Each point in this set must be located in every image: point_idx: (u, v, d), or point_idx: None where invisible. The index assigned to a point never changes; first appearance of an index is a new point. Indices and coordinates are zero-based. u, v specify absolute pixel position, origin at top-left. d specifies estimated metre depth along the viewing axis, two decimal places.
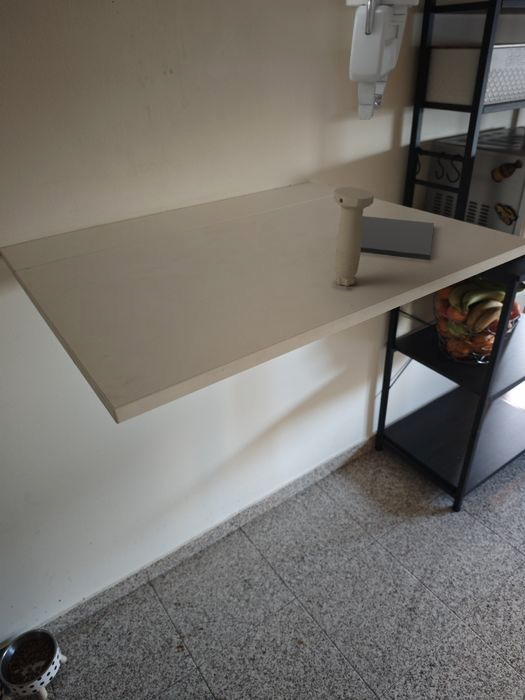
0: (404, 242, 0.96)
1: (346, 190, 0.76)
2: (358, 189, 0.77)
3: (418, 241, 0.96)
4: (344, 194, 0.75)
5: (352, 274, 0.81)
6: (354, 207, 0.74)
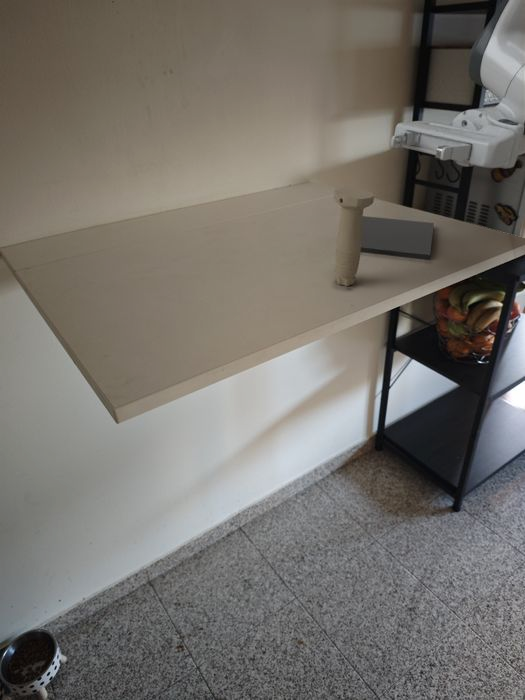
0: (404, 242, 0.96)
1: (346, 190, 0.76)
2: (358, 189, 0.77)
3: (418, 241, 0.96)
4: (344, 194, 0.74)
5: (352, 274, 0.81)
6: (354, 207, 0.74)
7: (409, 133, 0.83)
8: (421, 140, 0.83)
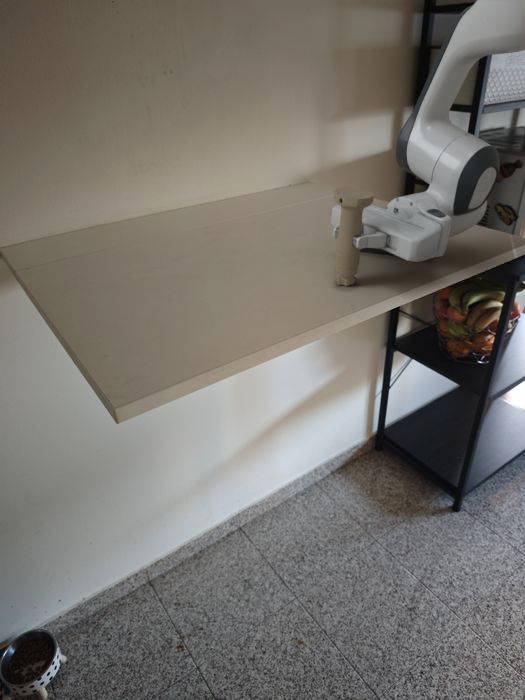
0: None
1: (345, 190, 0.76)
2: (358, 189, 0.77)
3: None
4: (344, 194, 0.75)
5: (352, 274, 0.81)
6: (354, 207, 0.74)
7: None
8: None
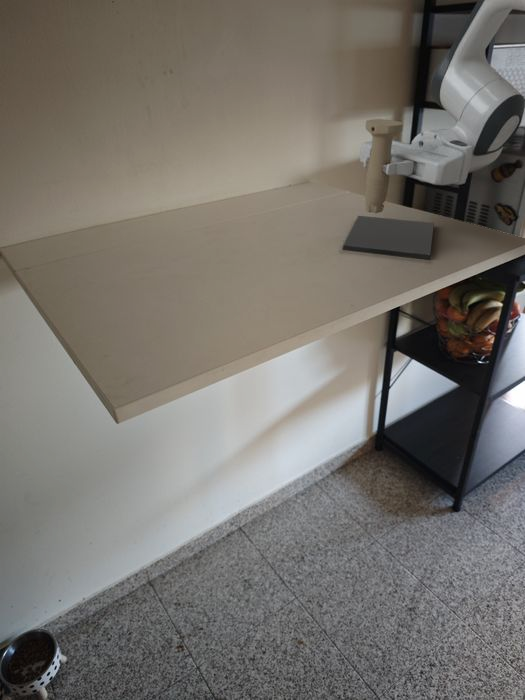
0: (404, 242, 0.96)
1: (377, 121, 0.84)
2: (388, 120, 0.84)
3: (418, 241, 0.96)
4: (376, 123, 0.82)
5: (381, 201, 0.89)
6: (385, 134, 0.82)
7: None
8: None
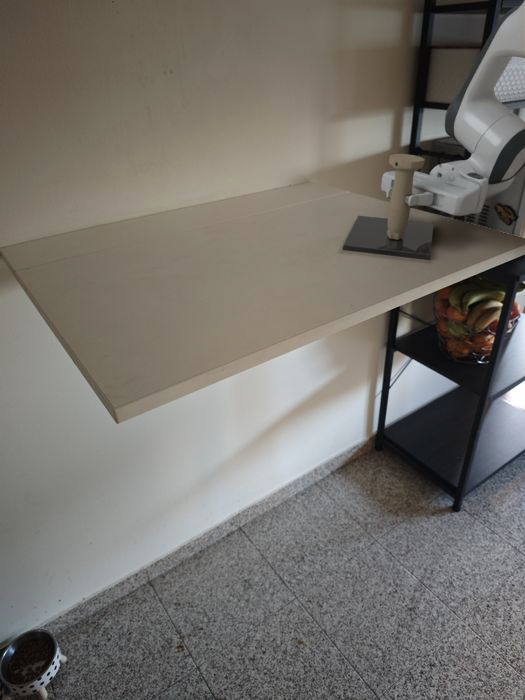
0: (404, 242, 0.96)
1: (399, 156, 0.91)
2: (410, 155, 0.91)
3: (418, 241, 0.96)
4: (399, 159, 0.89)
5: (402, 229, 0.95)
6: (408, 169, 0.88)
7: None
8: None
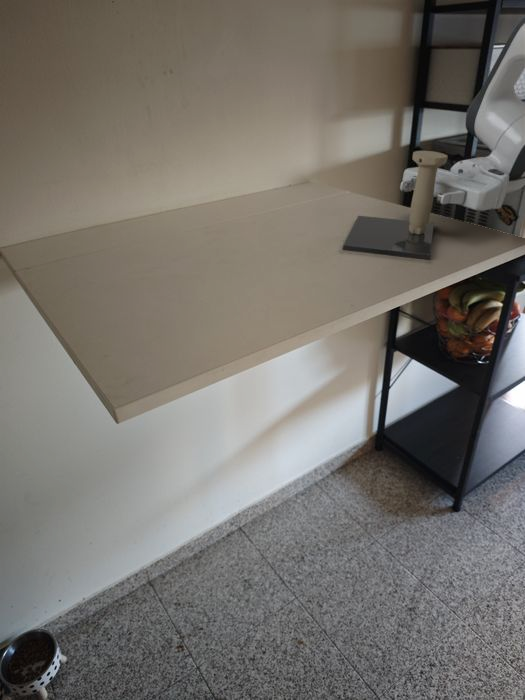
0: (404, 242, 0.96)
1: (423, 152, 0.93)
2: (433, 152, 0.93)
3: (418, 241, 0.96)
4: (423, 155, 0.91)
5: (424, 224, 0.98)
6: (432, 165, 0.91)
7: (415, 178, 1.00)
8: None
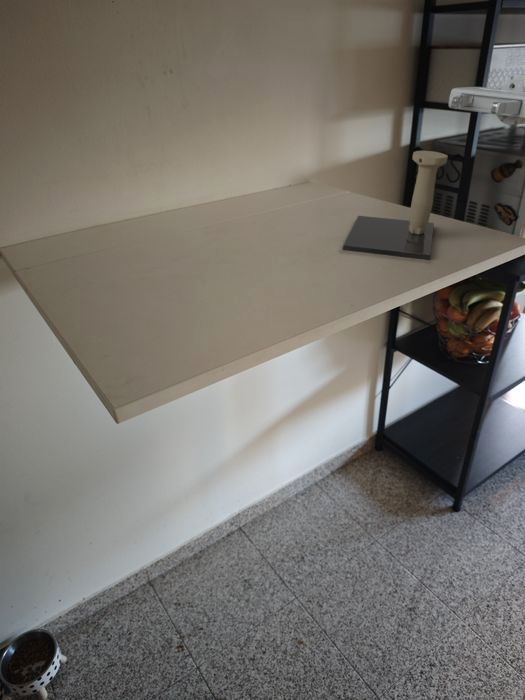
0: (404, 242, 0.96)
1: (423, 152, 0.93)
2: (433, 152, 0.93)
3: (418, 241, 0.96)
4: (423, 155, 0.91)
5: (424, 224, 0.98)
6: (432, 165, 0.91)
7: (464, 95, 0.97)
8: (474, 101, 0.97)
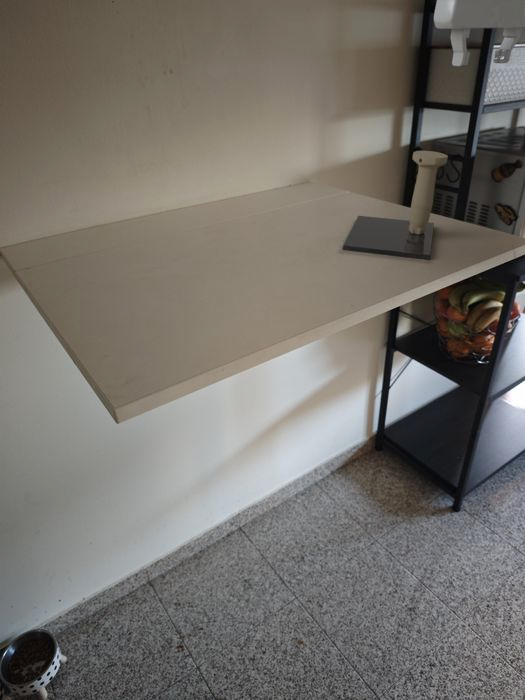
0: (404, 242, 0.96)
1: (423, 152, 0.93)
2: (433, 152, 0.93)
3: (418, 241, 0.96)
4: (423, 155, 0.91)
5: (424, 224, 0.98)
6: (432, 165, 0.91)
7: (468, 35, 0.70)
8: None
